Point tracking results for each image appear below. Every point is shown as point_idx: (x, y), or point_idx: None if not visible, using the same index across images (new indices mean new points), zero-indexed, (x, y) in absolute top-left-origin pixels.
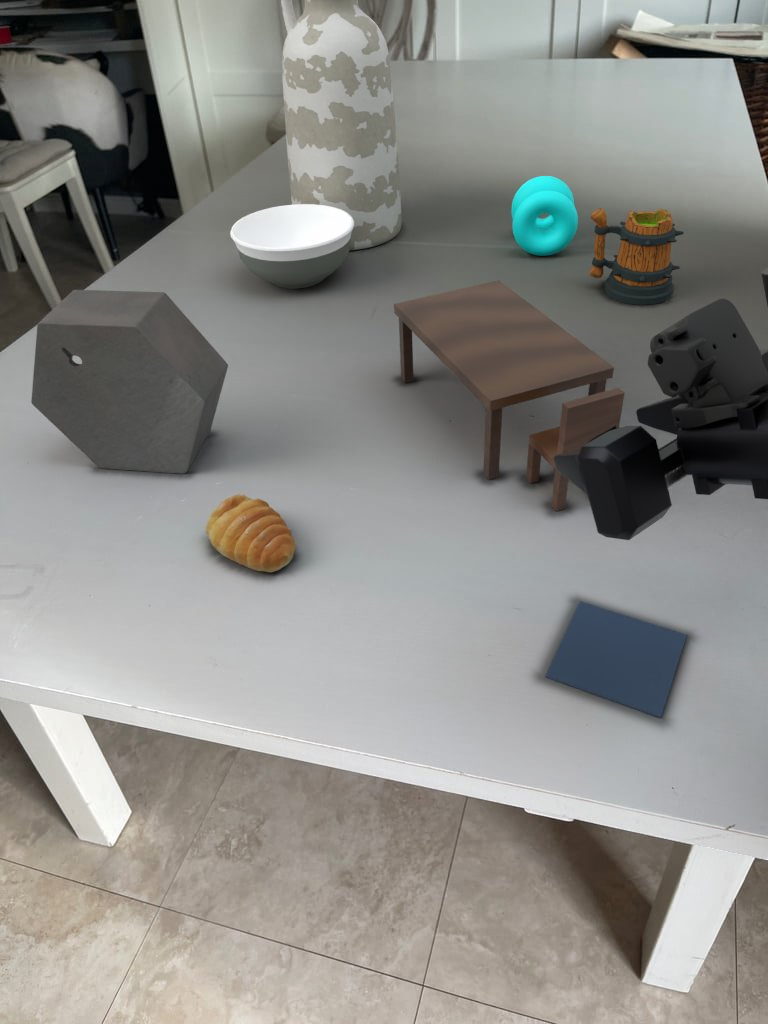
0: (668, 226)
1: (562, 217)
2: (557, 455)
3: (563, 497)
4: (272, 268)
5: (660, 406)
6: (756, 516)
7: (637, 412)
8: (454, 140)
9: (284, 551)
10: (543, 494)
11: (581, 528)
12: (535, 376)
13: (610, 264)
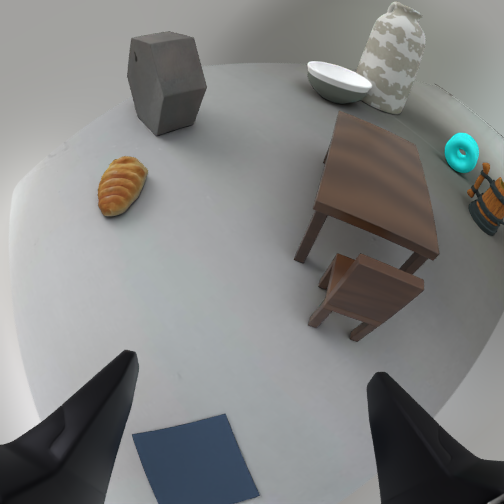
0: None
1: (469, 157)
2: (122, 355)
3: (318, 321)
4: (315, 81)
5: (399, 416)
6: None
7: (375, 376)
8: (445, 113)
9: (110, 207)
10: (316, 303)
11: (307, 355)
12: (376, 211)
13: (478, 195)
